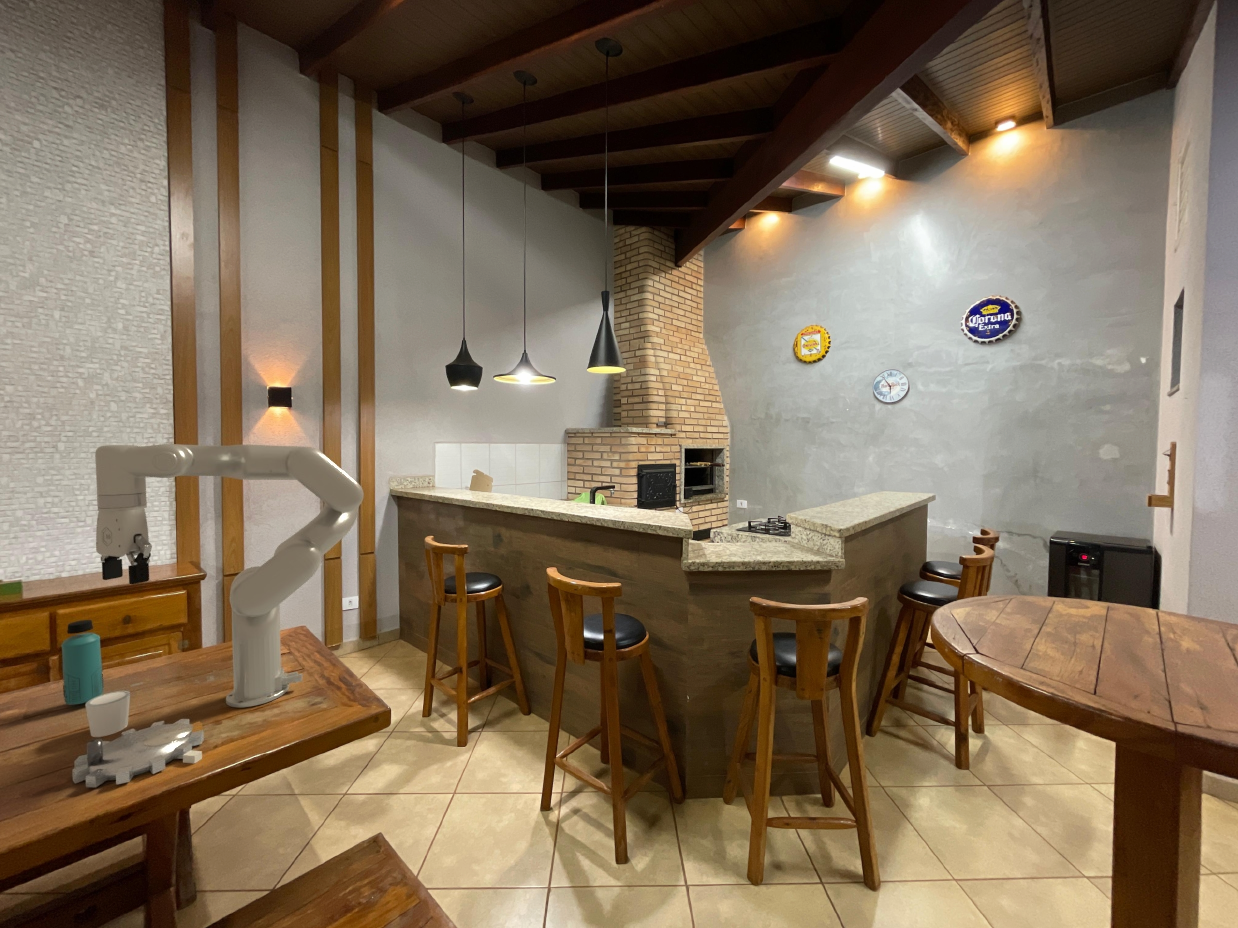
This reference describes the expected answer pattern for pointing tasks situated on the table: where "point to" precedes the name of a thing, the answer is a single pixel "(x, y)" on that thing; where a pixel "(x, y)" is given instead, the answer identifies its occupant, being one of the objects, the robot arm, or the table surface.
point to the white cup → (108, 713)
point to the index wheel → (136, 752)
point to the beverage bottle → (81, 664)
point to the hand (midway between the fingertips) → (125, 580)
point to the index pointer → (192, 756)
